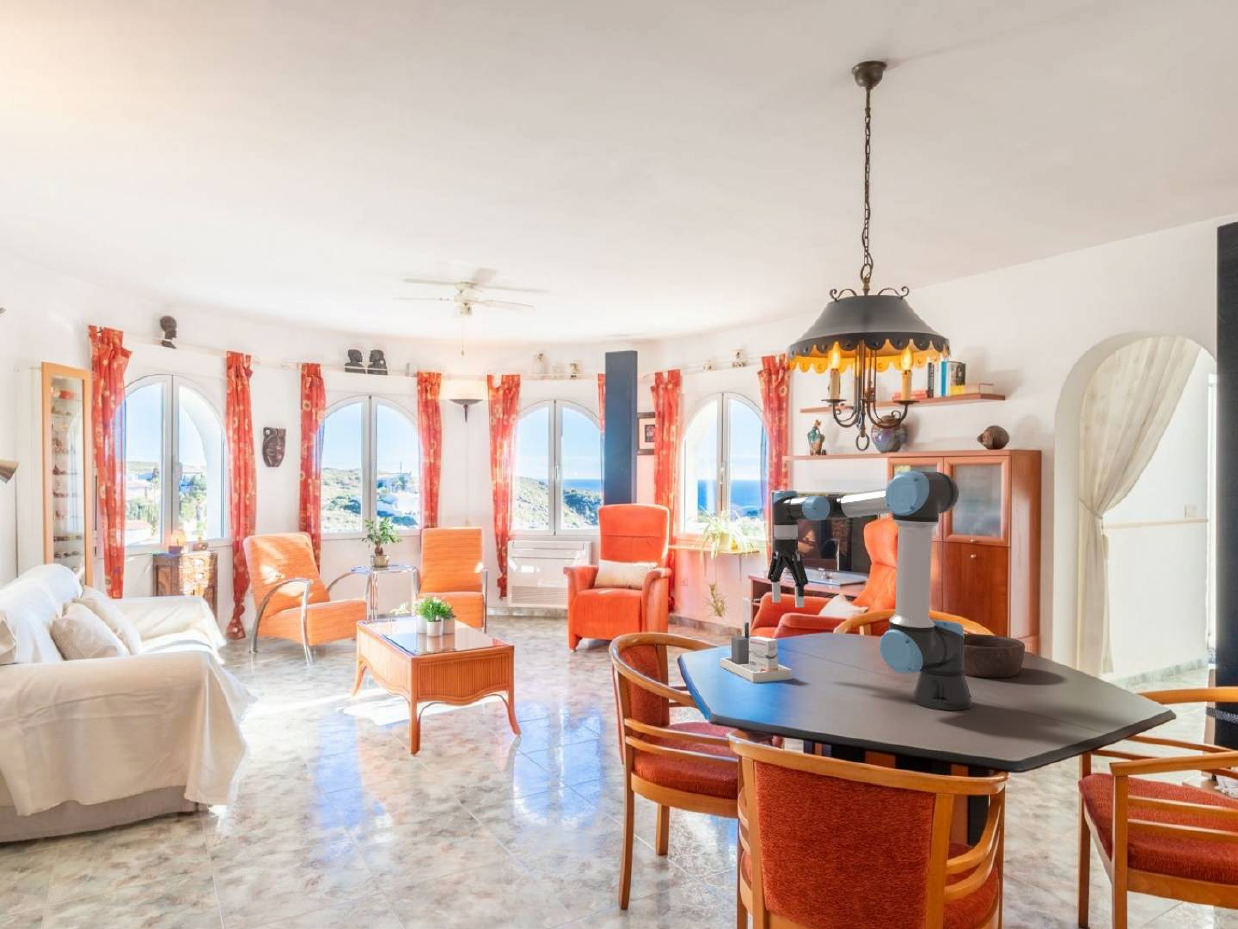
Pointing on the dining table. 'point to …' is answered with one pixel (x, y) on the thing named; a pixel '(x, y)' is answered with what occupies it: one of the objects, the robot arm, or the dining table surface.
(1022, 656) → the wooden bowl
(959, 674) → the robot arm
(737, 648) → the grey block with handle
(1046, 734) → the dining table surface
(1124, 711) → the dining table surface
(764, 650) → the ink box
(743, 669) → the tray
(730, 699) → the dining table surface
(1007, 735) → the dining table surface
